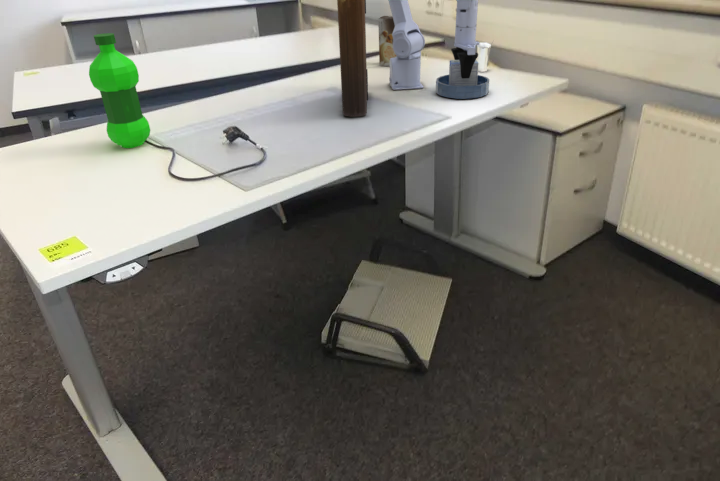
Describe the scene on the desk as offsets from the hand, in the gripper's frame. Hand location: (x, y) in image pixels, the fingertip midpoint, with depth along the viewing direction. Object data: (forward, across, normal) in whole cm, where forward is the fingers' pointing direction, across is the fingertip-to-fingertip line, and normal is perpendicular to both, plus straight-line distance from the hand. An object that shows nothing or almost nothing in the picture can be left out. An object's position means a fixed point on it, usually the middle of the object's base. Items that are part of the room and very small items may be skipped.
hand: (463, 75), depth 156 cm
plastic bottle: (+5, -27, +88) cm, 92 cm away
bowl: (+5, 0, 0) cm, 5 cm away
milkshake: (+5, +25, -14) cm, 29 cm away
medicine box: (+5, 0, 0) cm, 5 cm away
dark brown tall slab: (+5, -6, +32) cm, 33 cm away
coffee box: (+5, +42, +14) cm, 45 cm away
